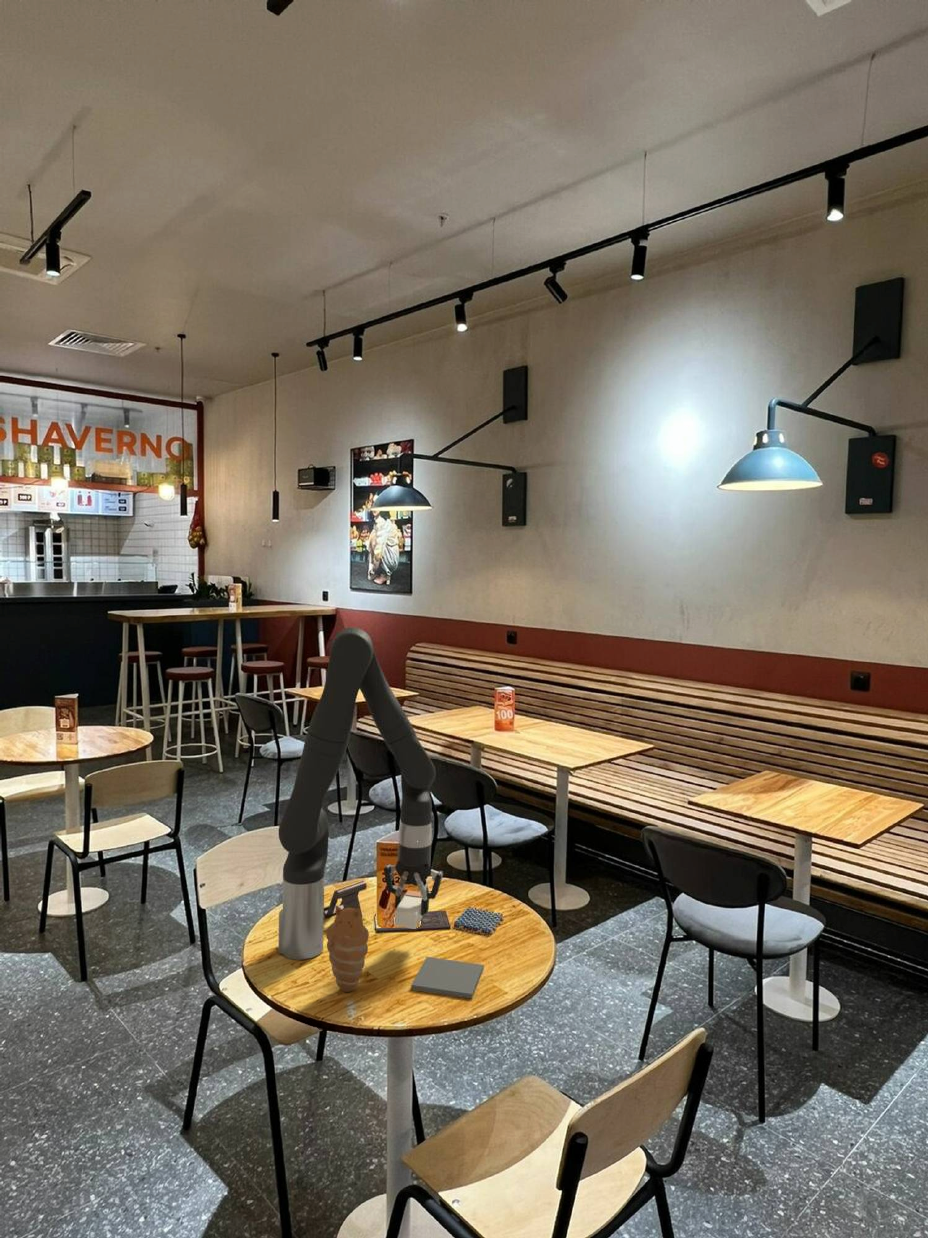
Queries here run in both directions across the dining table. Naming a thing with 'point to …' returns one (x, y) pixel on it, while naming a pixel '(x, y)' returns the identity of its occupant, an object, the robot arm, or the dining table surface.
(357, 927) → the cat ice cream
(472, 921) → the woven mat
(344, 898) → the portable electronic device stand
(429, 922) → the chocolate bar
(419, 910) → the block with tan end
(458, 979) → the rubber mat
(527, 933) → the dining table surface
